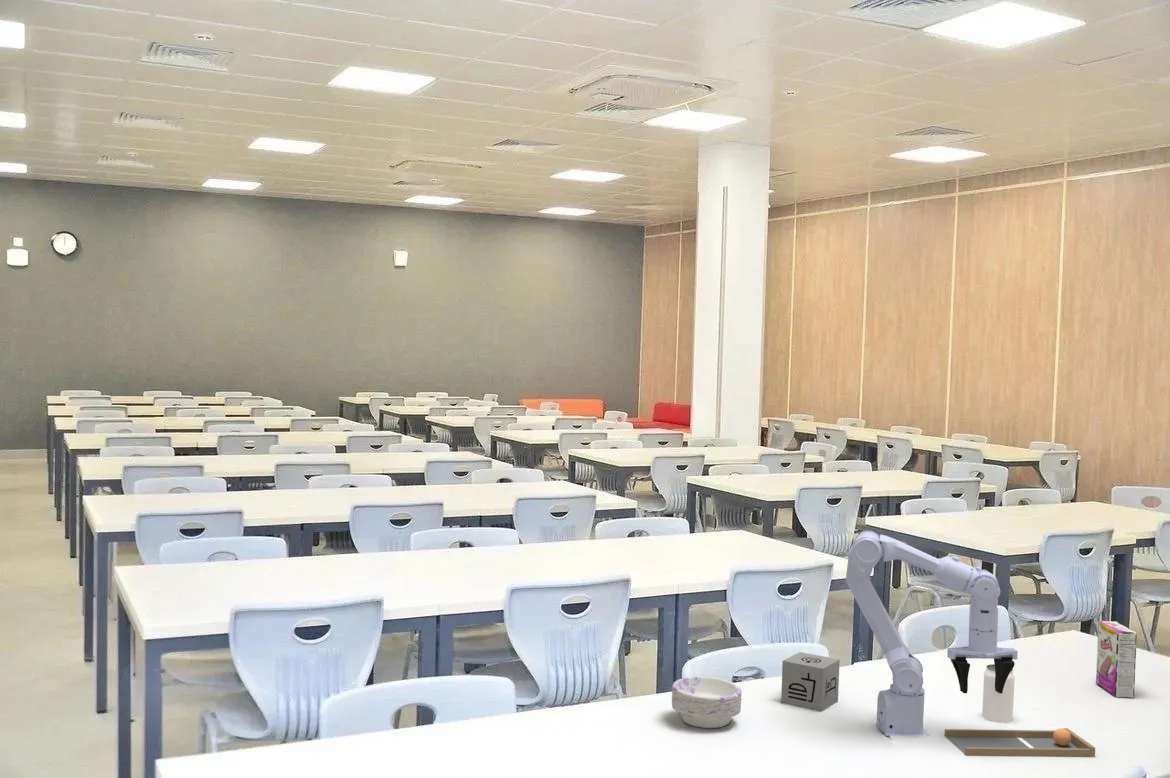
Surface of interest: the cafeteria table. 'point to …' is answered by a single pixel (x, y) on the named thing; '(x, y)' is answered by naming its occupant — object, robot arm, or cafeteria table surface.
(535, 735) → the cafeteria table surface
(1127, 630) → the candy bar box
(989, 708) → the can
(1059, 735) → the ball
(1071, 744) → the lane
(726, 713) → the paper bowls
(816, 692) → the icon cube
